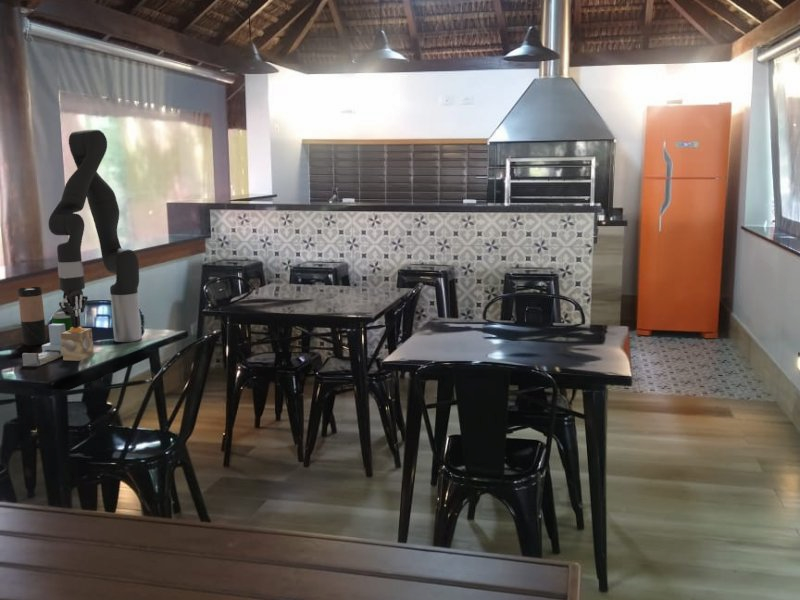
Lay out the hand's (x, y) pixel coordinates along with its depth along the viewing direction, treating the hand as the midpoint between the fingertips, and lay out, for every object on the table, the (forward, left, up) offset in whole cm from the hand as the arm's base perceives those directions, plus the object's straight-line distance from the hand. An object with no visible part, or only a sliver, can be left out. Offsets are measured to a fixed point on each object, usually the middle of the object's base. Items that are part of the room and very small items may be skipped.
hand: (76, 327), depth 249 cm
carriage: (-3, -9, -10) cm, 14 cm away
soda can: (-16, -15, -10) cm, 24 cm away
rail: (+1, -9, -10) cm, 14 cm away
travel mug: (-17, -28, -10) cm, 34 cm away
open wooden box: (0, 0, -10) cm, 10 cm away
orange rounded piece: (0, 0, -5) cm, 5 cm away
